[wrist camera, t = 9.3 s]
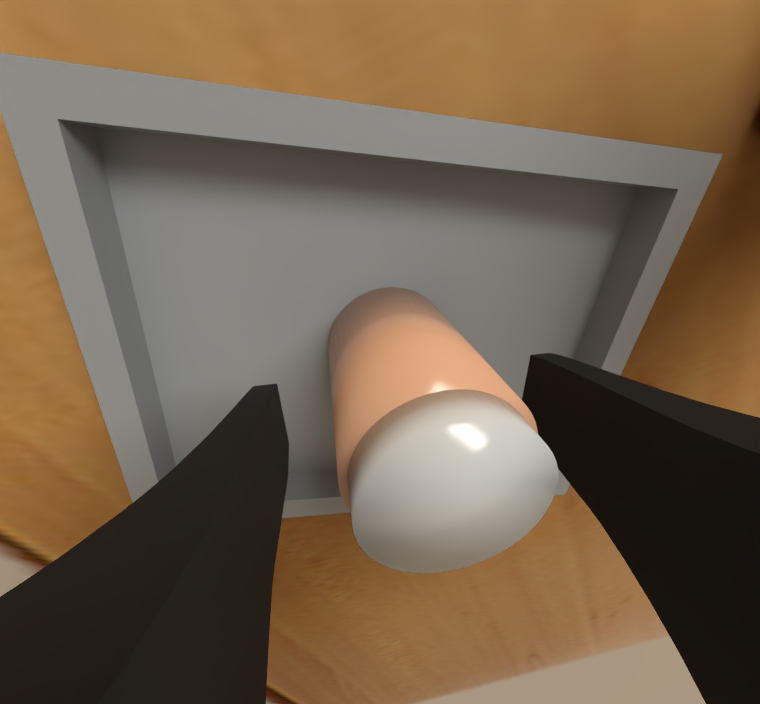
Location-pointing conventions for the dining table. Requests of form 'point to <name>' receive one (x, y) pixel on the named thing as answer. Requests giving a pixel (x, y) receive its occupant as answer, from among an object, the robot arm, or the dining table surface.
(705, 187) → the tray
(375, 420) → the shaker
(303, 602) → the dining table surface
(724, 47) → the dining table surface
